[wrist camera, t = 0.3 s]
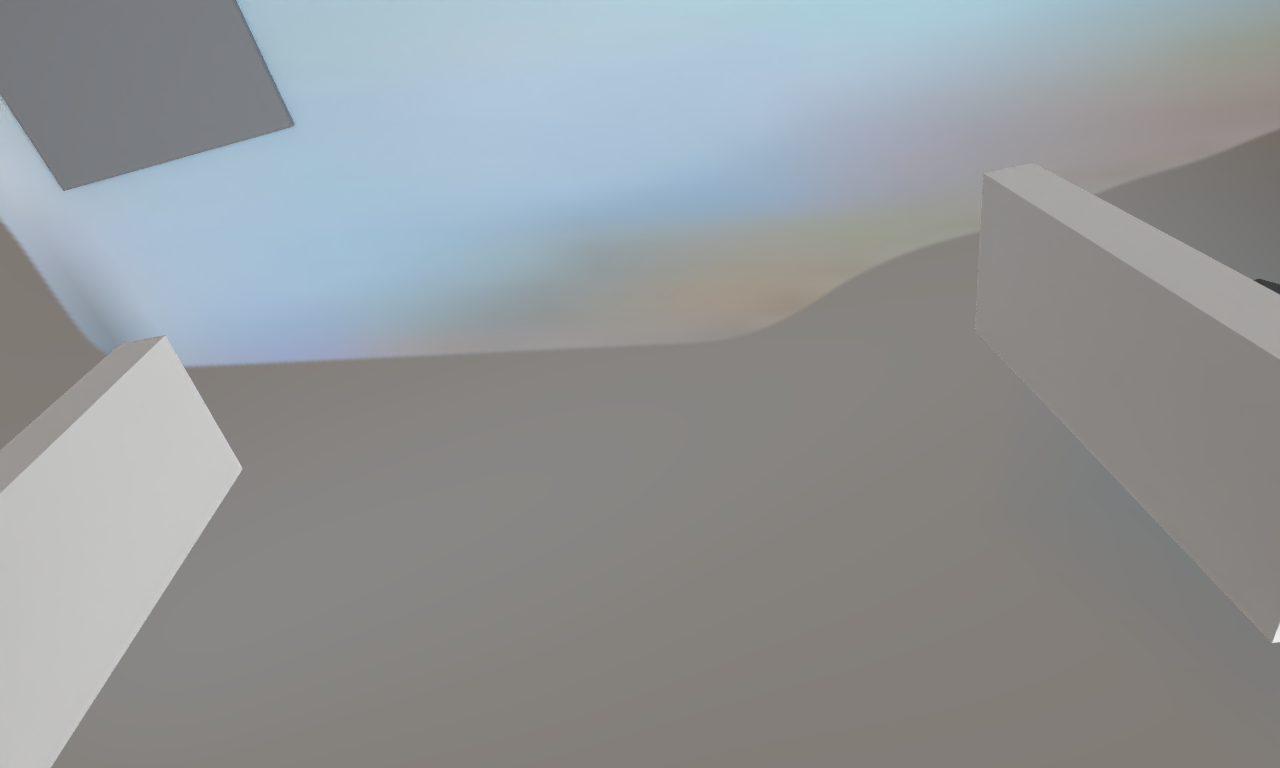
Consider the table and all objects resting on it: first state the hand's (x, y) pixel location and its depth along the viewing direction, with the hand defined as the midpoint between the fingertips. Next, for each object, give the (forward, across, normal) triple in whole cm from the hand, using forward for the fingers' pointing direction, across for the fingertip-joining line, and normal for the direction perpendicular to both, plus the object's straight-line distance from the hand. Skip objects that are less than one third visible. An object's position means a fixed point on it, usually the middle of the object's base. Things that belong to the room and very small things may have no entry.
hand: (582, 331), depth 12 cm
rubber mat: (+28, -21, +6) cm, 35 cm away
